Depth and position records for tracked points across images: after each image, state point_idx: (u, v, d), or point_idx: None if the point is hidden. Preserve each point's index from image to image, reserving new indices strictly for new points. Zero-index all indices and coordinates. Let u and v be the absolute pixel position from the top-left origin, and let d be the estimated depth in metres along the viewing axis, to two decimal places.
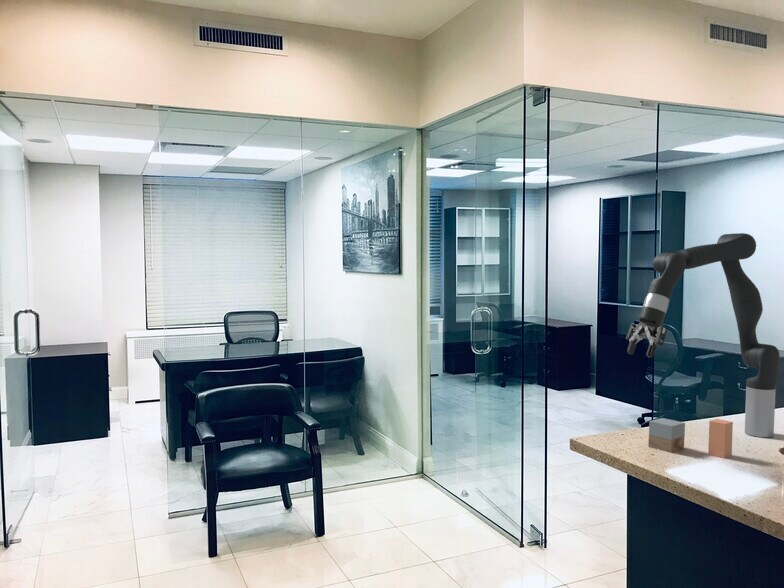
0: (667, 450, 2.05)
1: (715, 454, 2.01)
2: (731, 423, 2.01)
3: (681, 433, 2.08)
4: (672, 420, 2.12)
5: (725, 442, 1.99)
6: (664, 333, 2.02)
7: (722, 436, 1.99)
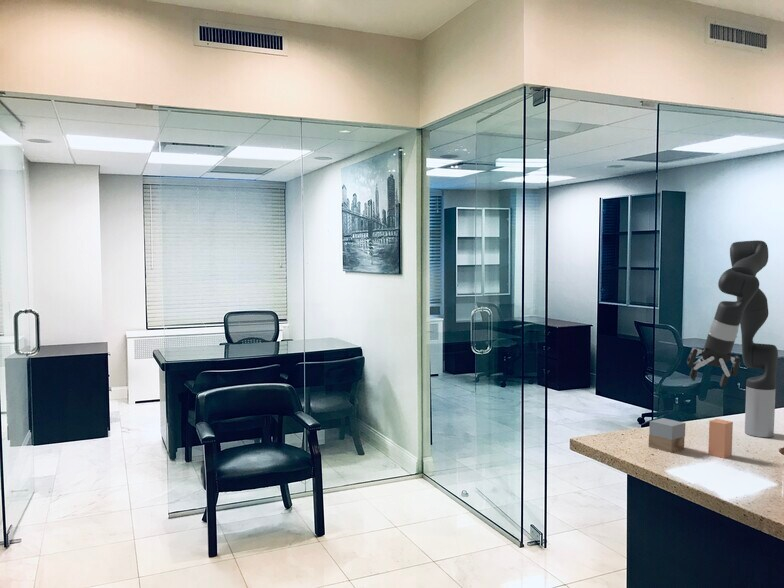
0: (667, 450, 2.05)
1: (715, 454, 2.01)
2: (731, 423, 2.01)
3: (681, 433, 2.08)
4: (672, 420, 2.12)
5: (725, 442, 1.99)
6: None
7: (722, 436, 1.99)
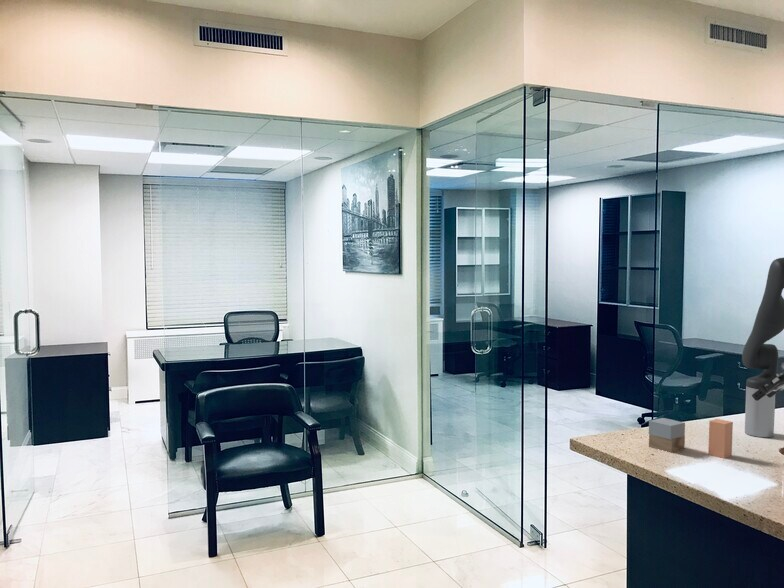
0: (667, 450, 2.05)
1: (715, 454, 2.01)
2: (731, 423, 2.01)
3: (681, 433, 2.08)
4: (672, 420, 2.12)
5: (725, 442, 1.99)
6: None
7: (722, 436, 1.99)
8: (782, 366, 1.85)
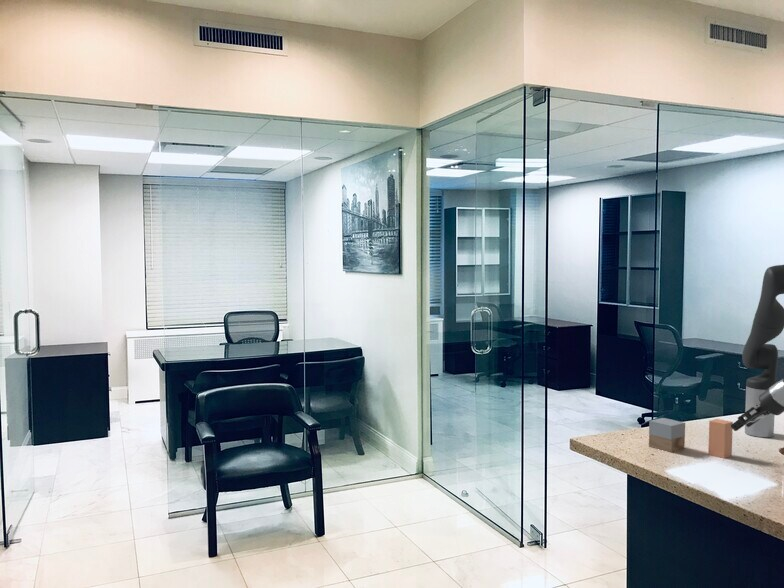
0: (667, 450, 2.05)
1: (715, 454, 2.01)
2: (731, 423, 2.01)
3: (681, 433, 2.08)
4: (673, 420, 2.12)
5: (724, 442, 1.99)
6: None
7: (722, 436, 1.99)
8: (760, 398, 1.90)
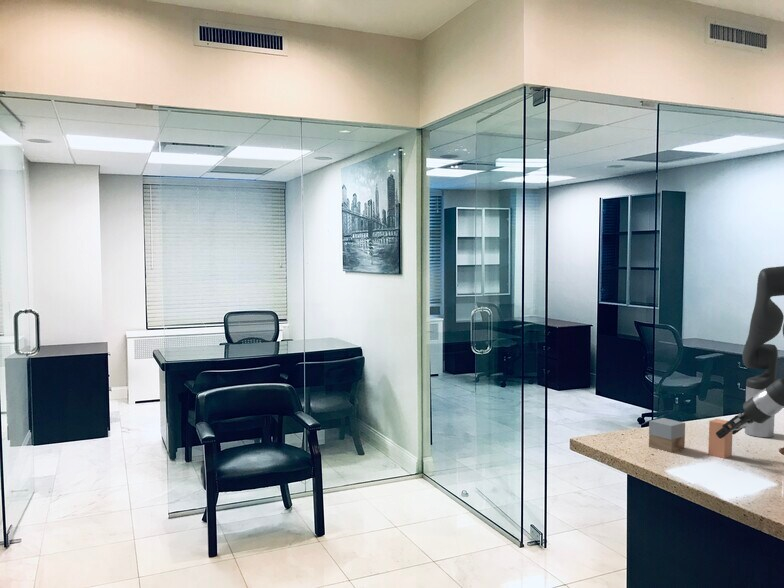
0: (667, 450, 2.05)
1: (715, 454, 2.01)
2: None
3: (681, 433, 2.07)
4: (672, 420, 2.12)
5: (725, 442, 1.99)
6: None
7: None
8: (744, 406, 1.93)
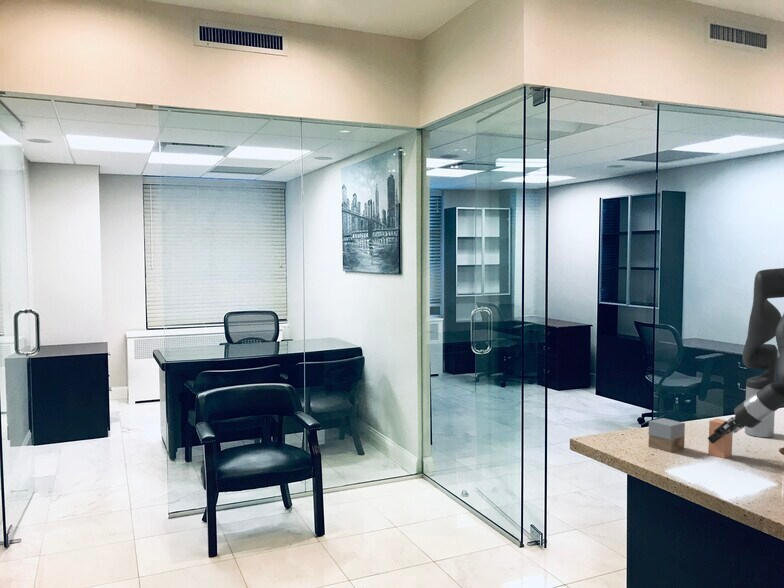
0: (667, 450, 2.05)
1: (715, 454, 2.01)
2: None
3: (681, 433, 2.07)
4: (672, 420, 2.11)
5: (725, 442, 1.99)
6: None
7: None
8: (735, 411, 1.96)
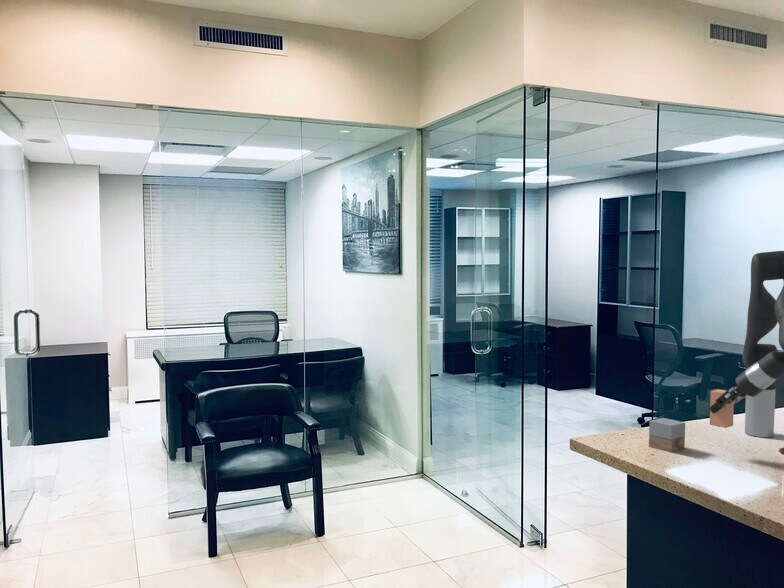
0: (667, 450, 2.05)
1: (716, 424, 2.01)
2: None
3: (681, 433, 2.08)
4: (672, 420, 2.12)
5: (726, 412, 1.98)
6: None
7: None
8: (736, 380, 1.95)
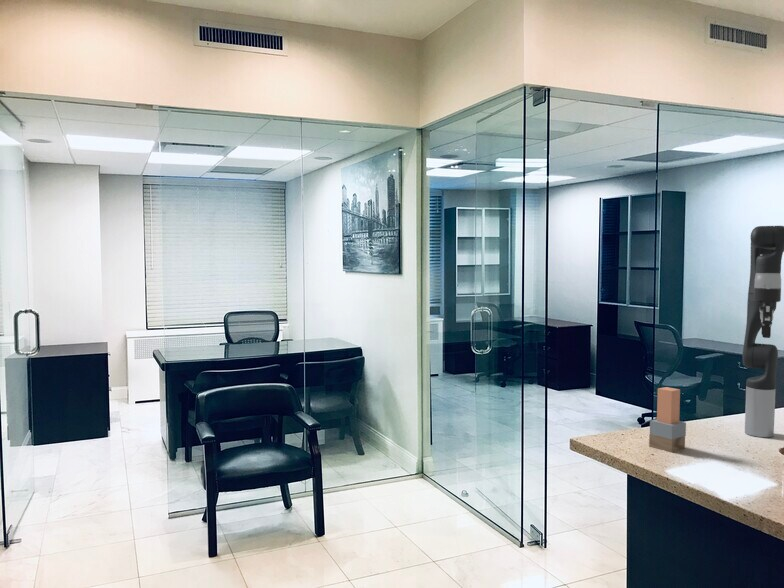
0: (667, 450, 2.06)
1: (663, 420, 2.08)
2: (678, 390, 2.08)
3: (682, 433, 2.08)
4: None
5: (671, 409, 2.06)
6: None
7: (669, 403, 2.06)
8: (758, 299, 2.04)
